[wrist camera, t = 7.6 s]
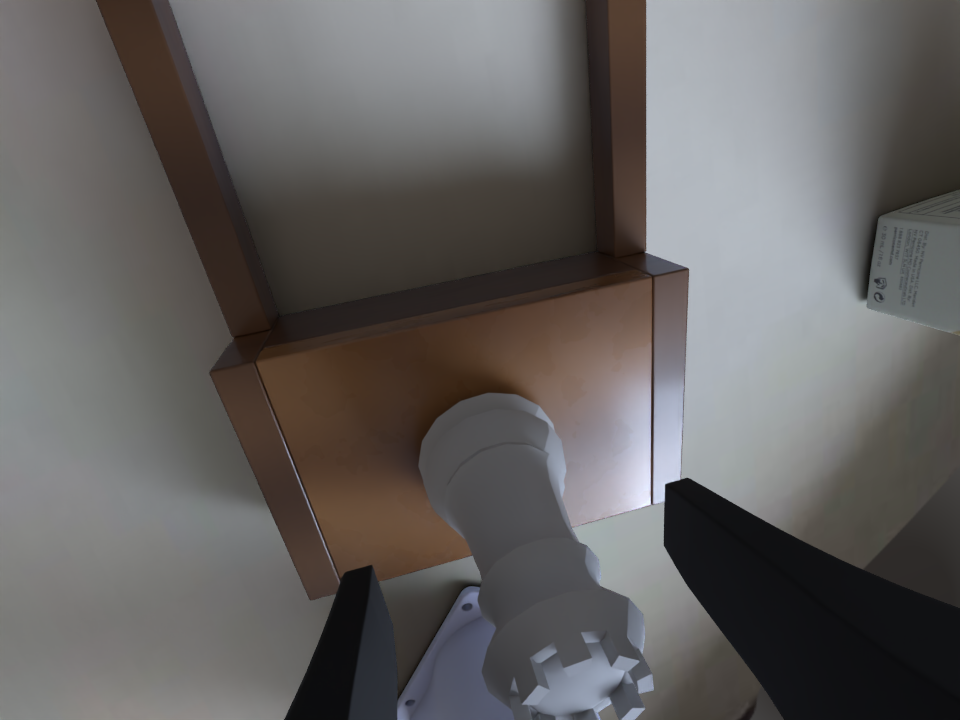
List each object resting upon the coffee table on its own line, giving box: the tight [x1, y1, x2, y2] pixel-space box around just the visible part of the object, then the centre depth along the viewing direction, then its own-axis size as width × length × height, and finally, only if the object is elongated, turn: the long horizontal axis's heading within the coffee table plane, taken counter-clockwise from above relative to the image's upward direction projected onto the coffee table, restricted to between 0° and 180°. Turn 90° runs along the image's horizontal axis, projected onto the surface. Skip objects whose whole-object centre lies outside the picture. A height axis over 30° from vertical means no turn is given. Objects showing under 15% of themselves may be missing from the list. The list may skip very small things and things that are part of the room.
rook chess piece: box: [418, 393, 654, 720], centre depth 12 cm, size 4×4×8 cm
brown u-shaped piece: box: [96, 0, 689, 600], centre depth 15 cm, size 18×14×4 cm
